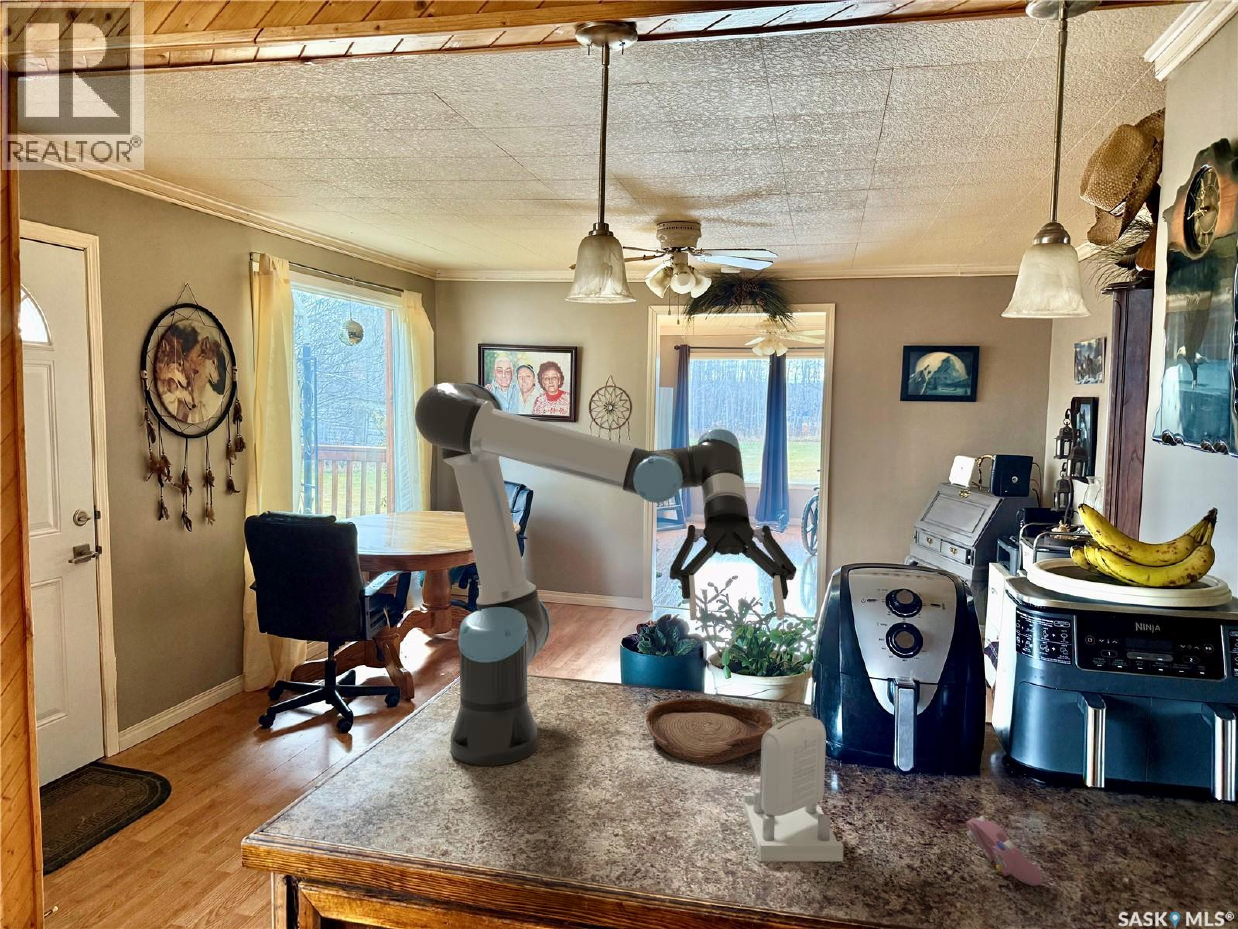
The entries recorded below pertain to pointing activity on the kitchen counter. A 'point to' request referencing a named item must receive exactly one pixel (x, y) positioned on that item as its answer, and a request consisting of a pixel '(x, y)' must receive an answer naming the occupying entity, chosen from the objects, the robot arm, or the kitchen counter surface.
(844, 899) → the kitchen counter surface
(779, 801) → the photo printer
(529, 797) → the kitchen counter surface
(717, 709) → the basket
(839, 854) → the white pegged stand
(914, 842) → the kitchen counter surface
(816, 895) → the kitchen counter surface
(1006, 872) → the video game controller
